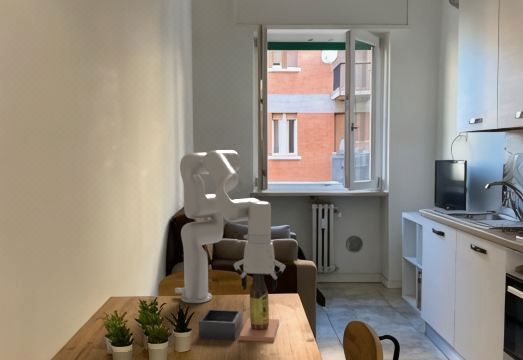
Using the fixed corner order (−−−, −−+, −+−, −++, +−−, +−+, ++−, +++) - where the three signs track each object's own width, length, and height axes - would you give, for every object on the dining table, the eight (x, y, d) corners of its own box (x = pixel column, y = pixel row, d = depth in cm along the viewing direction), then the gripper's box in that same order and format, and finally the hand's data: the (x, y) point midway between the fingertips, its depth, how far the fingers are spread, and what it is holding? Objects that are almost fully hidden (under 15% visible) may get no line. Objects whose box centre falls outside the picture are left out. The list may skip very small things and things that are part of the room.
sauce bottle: (267, 331, 157) (265, 271, 155) (248, 330, 158) (246, 271, 156) (270, 323, 163) (268, 266, 161) (253, 322, 164) (250, 265, 163)
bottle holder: (198, 337, 155) (198, 321, 155) (208, 324, 167) (208, 309, 167) (235, 339, 154) (234, 323, 153) (241, 326, 165) (241, 310, 165)
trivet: (239, 340, 153) (239, 335, 153) (248, 322, 169) (248, 318, 169) (273, 342, 152) (273, 337, 152) (279, 323, 168) (279, 319, 167)
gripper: (231, 240, 156) (231, 291, 157) (284, 241, 153) (283, 294, 155) (236, 235, 163) (236, 284, 165) (286, 237, 161) (286, 287, 162)
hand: (259, 289), depth 160 cm, fingers open, 9 cm apart
